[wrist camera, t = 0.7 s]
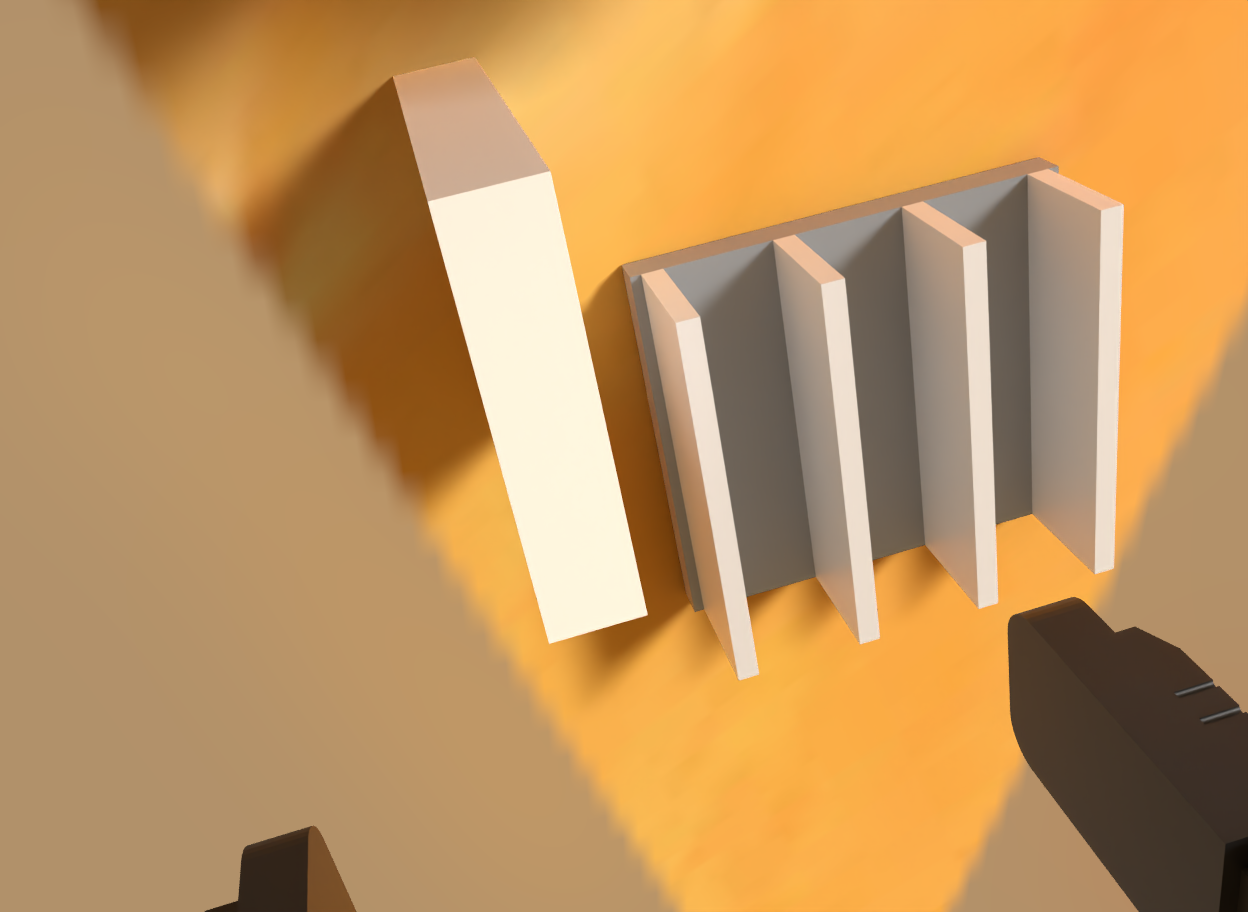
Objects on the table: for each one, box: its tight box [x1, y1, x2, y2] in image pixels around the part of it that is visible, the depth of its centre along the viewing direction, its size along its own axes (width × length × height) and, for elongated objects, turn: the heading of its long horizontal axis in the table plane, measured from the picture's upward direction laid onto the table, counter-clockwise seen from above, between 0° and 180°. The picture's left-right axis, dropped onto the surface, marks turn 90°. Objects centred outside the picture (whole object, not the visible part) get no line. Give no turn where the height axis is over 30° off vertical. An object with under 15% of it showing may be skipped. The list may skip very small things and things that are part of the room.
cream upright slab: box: [393, 57, 648, 644], centre depth 26 cm, size 9×2×11 cm, turn 11°
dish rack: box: [622, 157, 1124, 680], centre depth 33 cm, size 11×12×4 cm
